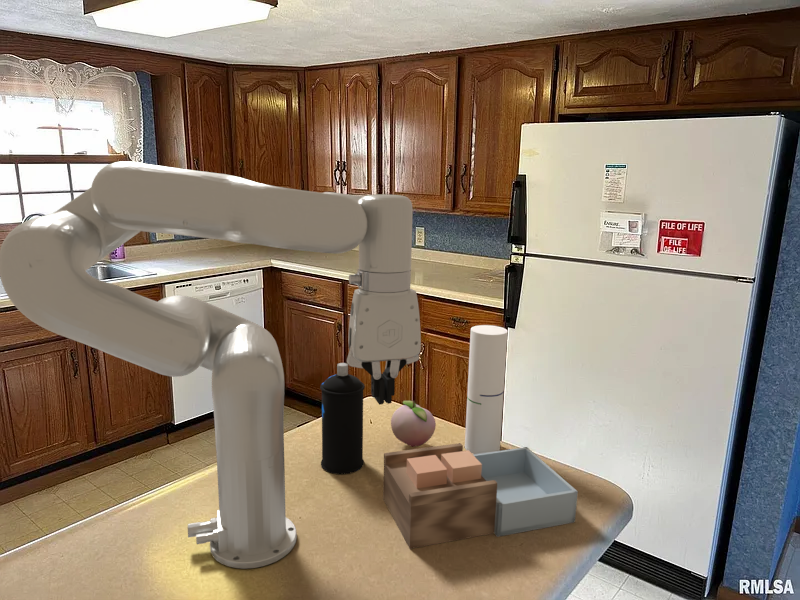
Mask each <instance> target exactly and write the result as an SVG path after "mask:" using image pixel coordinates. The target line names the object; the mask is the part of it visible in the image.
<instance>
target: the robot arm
mask: <svg viewBox="0 0 800 600" xmlns="http://www.w3.org/2000/svg"><path fill="white" fill-rule="evenodd" d="M413 213H414V211H413V203H412V200H411V199H410V198H409V197H408V196H405V195H401V194H399V195H398V194H384V193H383V194H378V193H377V194H369V195H355V194H345V193H340V192H333V191H324V192H317V191H309V190H303V189H302V190H301V189H296V188H289V187H282V186H275V185H271V184H265V183H262V182H261V183H260V182H256V181H253V180H250V179H247V178H244V177H240V176H235V175H231V174H226V173H217V172H212V171H211V172H209V171H201V170H195V169H186V168H179V167H172V166H166V165H165V166H164V165H157V164H151V163H149V164H148V163H145V162H139V161H128V160H127V161H126V160H125V161H123V160H122V161H115V162H112V163H110V164H108V165H105V166H103V167H102V168H101V169H100V170H99V172H97V174H96V175H95V177H94V178H93V181H92V184H91V187H90V188H87V190H85V191H84V192H82V193H81V194H79V195H78V196H76V198H74V199H72V200H70V201H69V202H68V203H66V204H64V205H63V206H61V207H60V208H59V209H57V210H55V211H54V212H53V213H50V214H46V215H43V216H42V215H41V216H38V217H34V218H32V219H31V218H30V219H28V220H26V221H24V222H22V223H20V224H19V225H16V226H15V227H14V228H13V229H12V230H11V231H9V233H8V234H7V235H6V237H5V238H4V240H2V244H1V245H0V280H1V284H2V287H3V290H4V291H5V293H6V295H7V297H8V299H9V300H10V301H11V303H12V304H13V305H14V307H15V308H16V309H17V310H18V311H19V312H20V313H21V314H22V315H23V316H25V317H26V318H27V319H28V320H30V321H31V322H32V323H34V324H35V325H38V326H39V327H41V328H42V329H45V330H47V331H49V332H52V333H54V334H56V335H59V336H61V337H63V338H64V337H65V338H67V339H70V340H71V341H75V342H78V343H80V344H84V345H87V346H88V347H91V348H94V349H95V350H98V351H101V352H103V353H106V354H108V355H111V356H113V357H115V358H119V359H121V360H123V361H126V362H128V363H131V364H133V365H137V366H138V367H142V368H144V369H147V370H149V371H151V372H154V373H157V374H159V375H162V376H167V377H172V378H173V377H175V378H177V377H179V378H180V377H184V376H188V375H190V374H191V373H192V374H193V372H195V371H196V370H197V369H198V368H199V367H201V368H204V369H207V370H208V371H209V370H210V371H211V396H212V397H211V399H212V407H213V417H214V418H213V420H214V436H215V438H214V439H215V451H216V466H217V467H216V469H217V473H216V474H217V490H218V491H217V492H218V508H219V509H217V510H216V516H217V517H211V518H210V520H208V521H198V522H197V521H196V522H192V523H187V537H188V538H189V539H190V538H196V539H195V540H196V545H200V544H201V545H202V544H206V543H209V549H210V553H211V555H212V557H213V558H214V560H215V561H216V562H219V563H220V564H221V565H225V566H226V567H230V568H234V569H254V568H255V569H256V568H260V567H261V568H262V567H264V566H265V567H266V566H269V565H271V564H273V563H276V562H277V561H279V560H281V559H283V558H284V557H285V556H286V555H288V554H289V553H290V552H291V551H292V550H293V548H294V547H295V545H296V543H297V538H298V537H297V529H296V525H295V524H294V523H293V521H292V520H291V519H289V518H288V517H287V516H286V513H287V512H286V483H285V482H286V480H285V479H286V477H285V474H286V473H285V469H286V468H285V437H284V436H285V433H284V432H285V431H284V429H285V428H284V427H285V426H284V414H285V413H284V409H285V407H284V406H285V405H284V404H285V372H284V367H283V363H282V362H283V361H282V358H281V354H280V351H279V347H278V344H277V341H276V339H275V338H274V337H273V335H272V333H271V332H270V331H268V330H267V329H265V328H264V327H263V326H261V325H259V324H257V323H255V322H253V321H251V320H249V319H246V318H244V317H241V316H239V315H237V314H235V313H233V312H230V311H227V310H225V309H223V308H220V307H218V306H216V305H213V304H212V303H208V302H206V301H204V300H201V299H199V298H195V297H192V296H187V295H181V294H180V295H178V294H177V295H170V296H167V297H163V298H161V299H160V300H158V301H157V300H154V299H152V298H148V297H146V296H143V295H141V294H138V293H136V292H133V291H131V290H129V289H127V288H125V287H123V286H119V285H117V284H113V283H110V282H106V281H103V280H101V279H97V278H96V277H94V276H92V275H91V274H89V273H88V272H87V270H88V269H90V268H92V267H93V266H95V265H96V264H97V263H98V262H100V261H101V260H102V259H104V258H106V256H108V255H110V254H111V253H113V252H114V251H115V250H117V249H118V248H120V247H121V246H122V245H124V244H125V243H127V242H128V241H129V240H131V239H132V238H133V237H135V236H137V235H138V234H139V233H141V232H147V233H156V234H168V235H174V236H175V235H177V236H185V237H186V236H187V237H196V238H204V239H213V240H220V241H221V240H222V241H228V242H233V243H239V244H248V245H249V244H250V245H257V246H263V247H271V248H279V249H285V250H292V251H293V250H294V251H301V252H302V251H303V252H313V253H321V254H322V253H323V254H343V253H344V254H345V253H347V252H350V251H352V250H354V249H355V248H357V247H358V268H357V271H356V273H353V274H349V275H348V282H349V285H356V286H357V289H354V291H353V295H352V300H351V307H350V313H349V314H350V315H349V323H348V334H347V335H348V336H347V338H348V340H347V341H348V350H349V351H348V355H347V358H346V364H348V367H352V368H358V369H363V370H365V372H367V373H368V374H369V375H370V377H371V378H370V380H371V381H370V385H371V386H370V393H371V397H372V398H374V399H375V401H376V402H377V403H378V405H383V404H385V403H386V404H388V405H389V404H392V402H393V401H392V399H393V396H395V394H396V393H395V387H396V385H395V384H396V378H397V377H398V375H399V372H401V371H402V370H403V368H404V367H405V366H406V365H409V364H412V363H415V362H418V361H419V360H420V352H421V345H422V342H421V340H422V337H421V333H422V332H421V320H420V308H419V302H418V301H419V300H418V295H417V291H416V290H414V289H413V288H411V276H412V247H413V243H412V242H413ZM381 362H385V367H384V371H383V372H382V371H381Z"/></svg>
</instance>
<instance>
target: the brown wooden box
mask: <svg viewBox="0 0 800 600" xmlns="http://www.w3.org/2000/svg"><path fill="white" fill-rule="evenodd" d="M460 451H464V445H463V444H462V443H461V442H459V443H451V444H445V445H436V446H430V447H429V446H428V447H419V448H414V449H405V450H398V451H392V452H389V451H388V452H384V453H383V483H382V484H383V487H382V489H383V491H382V492H383V493H382V494H383V495H382V497H383V498H382V500H383V502H384V503H385V505H386V508H387V509H388V511H389V513H390V515H391V518H392V520H394V522H395V525H396V526H397V527H398V530H399V532H400V534H401V535H402V537H403V538H404V541H405V543H406V545H407V546H408V549H410V550H411V549H416V548H423V547H426V546H428V547H429V546H433V545H438V544H443V543H444V544H445V543H448V542H454V541H459V540H463V539H464V540H465V539H469V538H470V539H471V538H475V537H480V536H485V535H486V536H487V535H492V534H495V533H494V529H495V513H496V498H497V482H496V481H495V480H491V481H486V480H485V479H484V478H483V477H482V475H481V479H475V480H469V481H462V482H456V483H452V482H451V481H450V479H449V478H448V477H447V484H443V485H436V486H430V487H423V488H416V487H415V485H414V484H413V482H412V481H411V479H410V478H409V476H408V475H407V473H406V469H407V459H409V458H416V457H424V456H431V455H436V456H437V457H438V459H439V460H440V461H441V454H446V453H453V452H460Z"/></svg>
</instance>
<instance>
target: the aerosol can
mask: <svg viewBox="0 0 800 600" xmlns="http://www.w3.org/2000/svg"><path fill="white" fill-rule="evenodd" d="M336 365H337V366H336V368H337V370H336V371H337V373H336V374H334V375H331V376H329V377H328V378H326V379H325V380H324V382H322V383H321V384H320V386H319V387H320V391H321V461H320V466H321V469H323V470H324V471H325V472H328V473H330V474H334V475H347V474H348V475H350V474H352V473H355V472H358V471H359V470H361V469H362V468H363V466H364V465H365V461H364V457H363V456H364V455H363V454H364V453H363V452H364V451H363V448H364V446H363V445H364V439H363V438H364V390H365V388H366V387H365V384H364V383H363V382H362V381H361V380H360V379H359V378H358V377H356V376H355V375H352V374H349V365H348V363H347V362H340V363H337V364H336Z"/></svg>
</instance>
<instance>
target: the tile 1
mask: <svg viewBox="0 0 800 600" xmlns="http://www.w3.org/2000/svg"><path fill="white" fill-rule="evenodd" d="M406 473H407V475H408V476H409V478H410V479H411V481H412V482H413V484H414V485H415V487H416V488H423V487H430V486H436V485H443V484H447V469H446V467H445V466H444V465H443V464H442V462H441V461H440V460H439V459H438V457H437V456H436V455H431V456H424V457H416V458H409V459H407V469H406Z"/></svg>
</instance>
